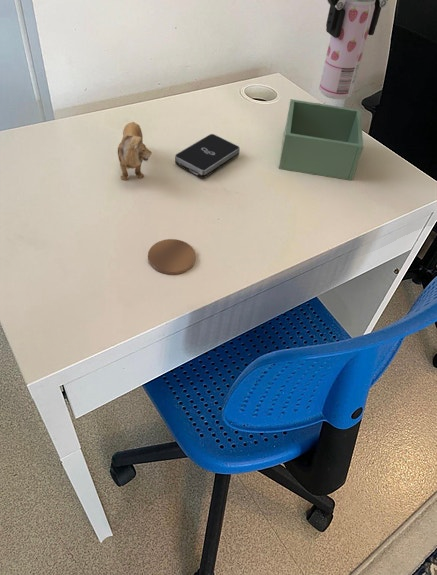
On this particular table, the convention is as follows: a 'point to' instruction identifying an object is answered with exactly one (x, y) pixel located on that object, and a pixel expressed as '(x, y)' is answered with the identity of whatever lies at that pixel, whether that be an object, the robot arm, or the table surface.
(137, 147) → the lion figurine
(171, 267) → the coaster
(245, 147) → the table surface
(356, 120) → the crate
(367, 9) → the beverage can
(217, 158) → the external hard drive
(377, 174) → the table surface
